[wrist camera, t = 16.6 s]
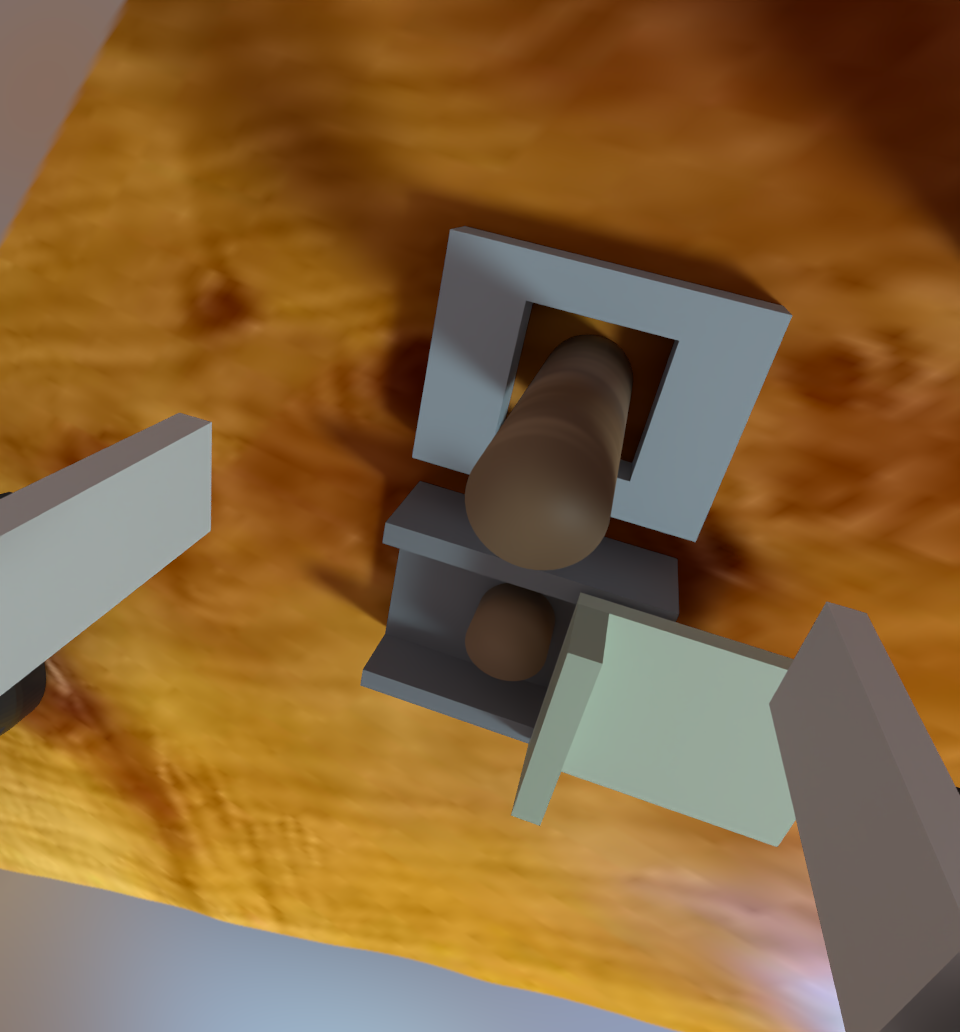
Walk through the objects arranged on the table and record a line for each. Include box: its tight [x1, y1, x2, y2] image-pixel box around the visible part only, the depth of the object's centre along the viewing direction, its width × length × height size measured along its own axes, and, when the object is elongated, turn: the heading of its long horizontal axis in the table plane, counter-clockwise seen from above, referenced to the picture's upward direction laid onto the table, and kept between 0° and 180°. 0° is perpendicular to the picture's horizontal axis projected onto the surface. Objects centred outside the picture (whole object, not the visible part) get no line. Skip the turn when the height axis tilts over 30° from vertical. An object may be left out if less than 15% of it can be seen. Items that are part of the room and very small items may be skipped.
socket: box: [412, 226, 792, 542], centre depth 26 cm, size 12×9×2 cm
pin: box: [465, 335, 633, 570], centre depth 21 cm, size 4×4×12 cm
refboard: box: [361, 481, 679, 744], centre depth 30 cm, size 12×9×4 cm
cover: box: [511, 592, 796, 847], centre depth 25 cm, size 11×9×4 cm
